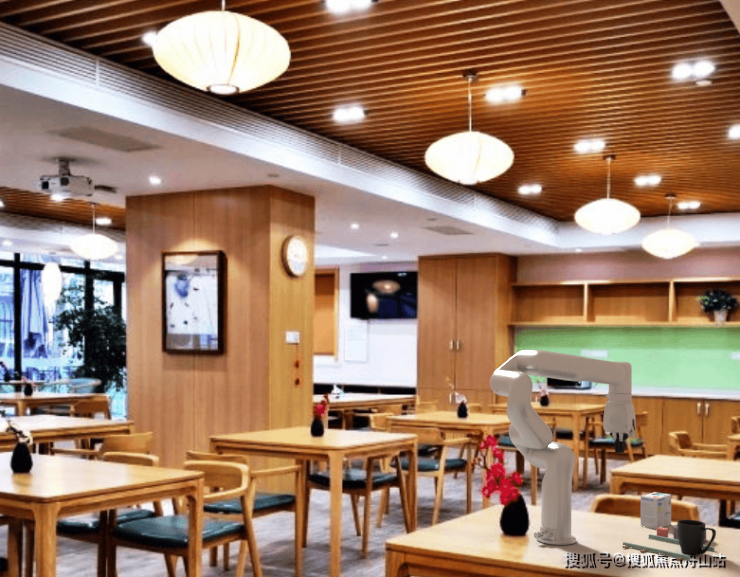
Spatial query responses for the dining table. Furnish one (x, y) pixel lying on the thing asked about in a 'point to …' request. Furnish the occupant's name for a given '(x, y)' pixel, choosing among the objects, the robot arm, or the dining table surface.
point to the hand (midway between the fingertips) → (619, 452)
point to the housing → (675, 534)
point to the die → (662, 532)
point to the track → (662, 552)
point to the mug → (693, 537)
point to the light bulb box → (656, 510)
